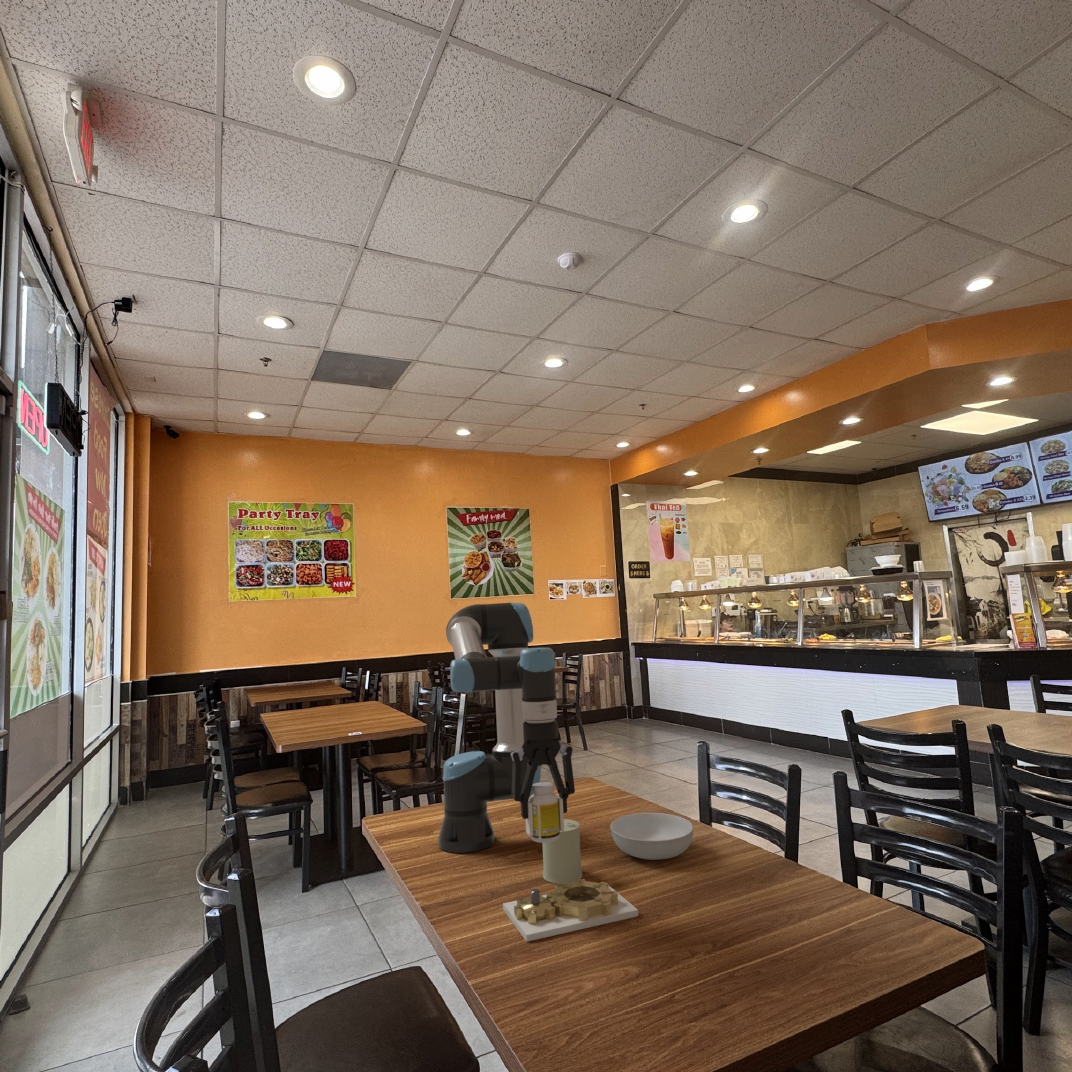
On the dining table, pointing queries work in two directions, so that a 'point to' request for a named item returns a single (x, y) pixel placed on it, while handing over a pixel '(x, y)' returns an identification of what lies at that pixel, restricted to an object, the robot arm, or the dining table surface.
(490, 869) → the dining table surface
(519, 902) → the gear
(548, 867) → the can
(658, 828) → the serving bowl
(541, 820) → the pill bottle
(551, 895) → the gear
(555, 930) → the gear board
